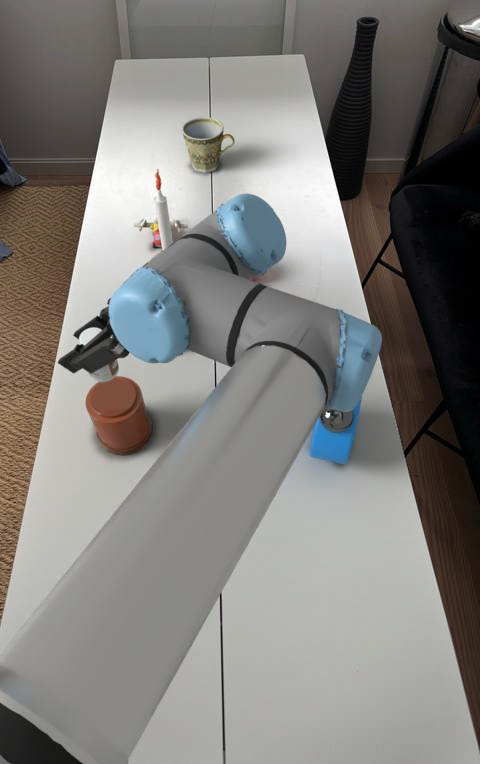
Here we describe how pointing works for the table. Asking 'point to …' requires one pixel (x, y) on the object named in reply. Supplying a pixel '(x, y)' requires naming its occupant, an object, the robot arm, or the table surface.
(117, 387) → the brown cylindrical container
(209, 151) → the ceramic cup
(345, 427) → the alarm clock
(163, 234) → the candlestick
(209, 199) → the table surface
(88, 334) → the pill bottle
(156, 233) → the toy airplane
